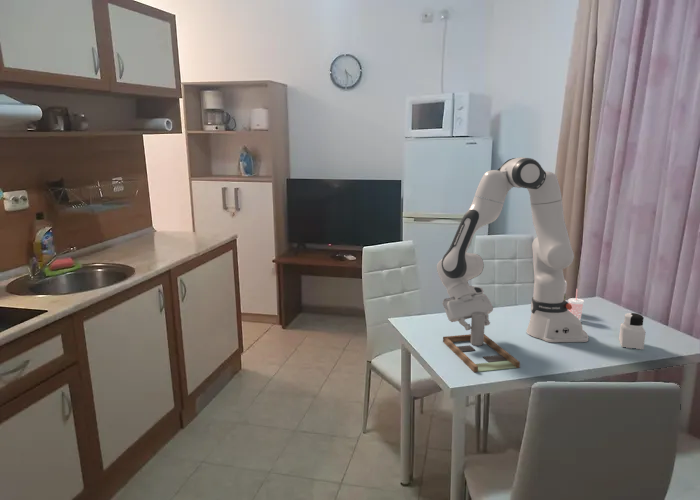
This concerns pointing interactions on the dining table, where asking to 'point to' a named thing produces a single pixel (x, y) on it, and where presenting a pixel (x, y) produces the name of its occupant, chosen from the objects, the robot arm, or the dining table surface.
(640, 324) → the medicine bottle
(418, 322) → the dining table surface
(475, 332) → the beverage can
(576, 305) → the beverage cup
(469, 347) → the box
